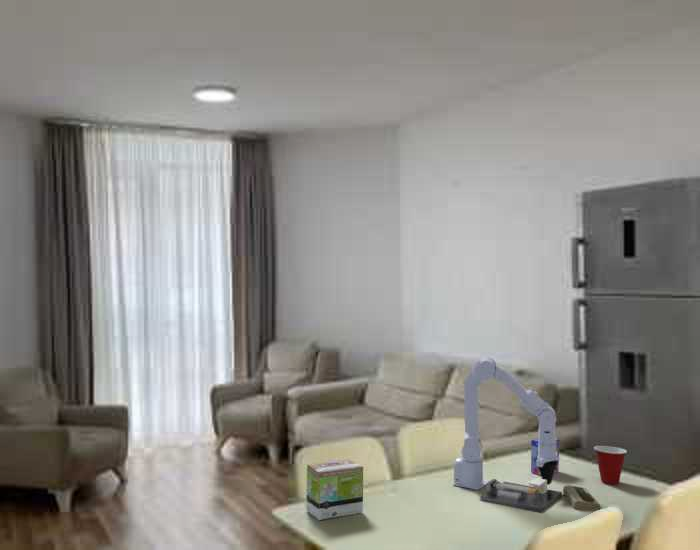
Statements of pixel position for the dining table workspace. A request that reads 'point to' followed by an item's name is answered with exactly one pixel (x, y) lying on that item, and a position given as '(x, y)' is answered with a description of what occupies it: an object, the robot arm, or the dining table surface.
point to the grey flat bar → (515, 487)
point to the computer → (580, 498)
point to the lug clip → (539, 485)
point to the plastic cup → (610, 463)
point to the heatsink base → (519, 497)
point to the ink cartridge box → (535, 456)
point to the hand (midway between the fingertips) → (547, 483)
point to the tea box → (334, 489)
